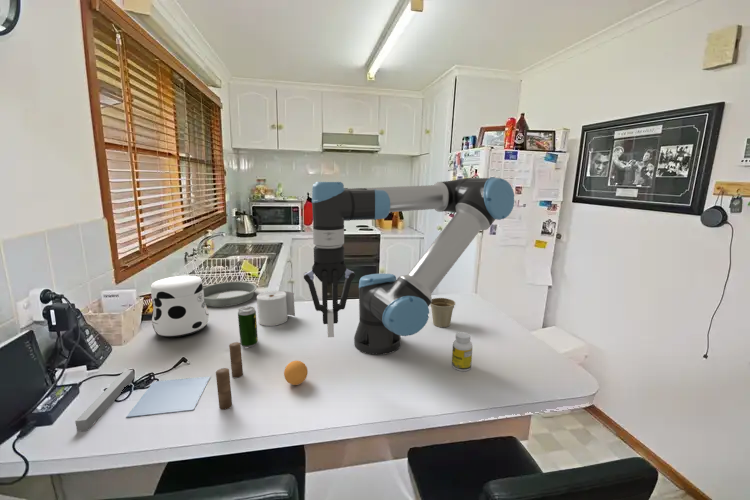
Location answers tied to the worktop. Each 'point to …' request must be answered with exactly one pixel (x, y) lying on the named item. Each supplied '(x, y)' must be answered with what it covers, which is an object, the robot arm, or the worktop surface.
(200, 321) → the milk container
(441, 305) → the flower pot
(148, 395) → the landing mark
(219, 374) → the post
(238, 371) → the post
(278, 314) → the toilet tissue
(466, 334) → the supplement bottle
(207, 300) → the cake pan
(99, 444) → the worktop surface
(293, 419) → the worktop surface
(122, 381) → the wall
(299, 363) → the ball
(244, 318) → the beer can
